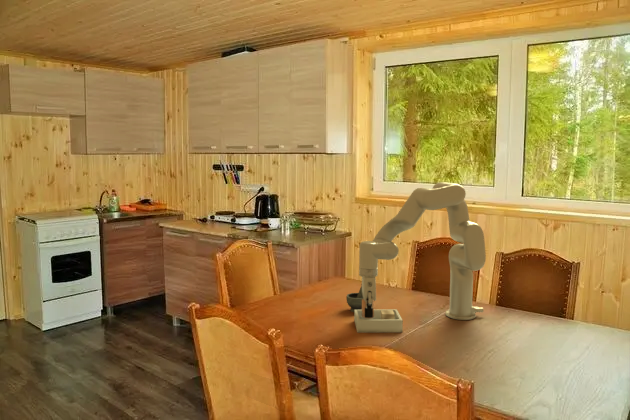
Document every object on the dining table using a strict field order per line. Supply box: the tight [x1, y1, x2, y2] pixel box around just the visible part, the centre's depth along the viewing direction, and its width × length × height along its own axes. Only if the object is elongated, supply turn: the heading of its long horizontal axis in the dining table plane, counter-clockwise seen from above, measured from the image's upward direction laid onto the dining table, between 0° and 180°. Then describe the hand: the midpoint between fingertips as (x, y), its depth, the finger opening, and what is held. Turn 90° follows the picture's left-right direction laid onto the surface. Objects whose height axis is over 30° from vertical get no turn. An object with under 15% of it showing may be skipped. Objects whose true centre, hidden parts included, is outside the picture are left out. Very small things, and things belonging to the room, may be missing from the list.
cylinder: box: [362, 298, 375, 318], centre depth 212 cm, size 5×5×7 cm
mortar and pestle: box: [345, 283, 363, 313], centre depth 234 cm, size 11×9×12 cm
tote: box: [353, 308, 404, 334], centre depth 213 cm, size 18×14×5 cm
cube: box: [381, 310, 395, 319], centre depth 213 cm, size 5×5×5 cm
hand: (367, 314), depth 212 cm, fingers closed on cylinder, 5 cm apart
